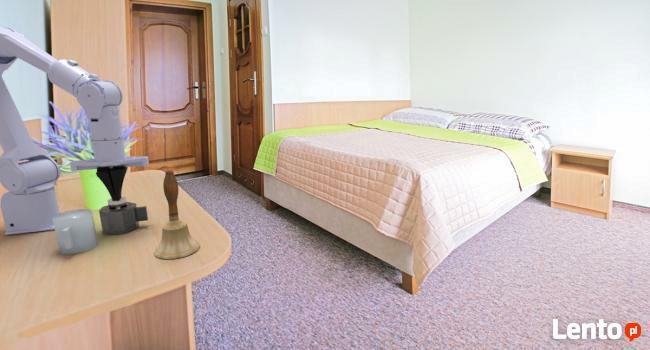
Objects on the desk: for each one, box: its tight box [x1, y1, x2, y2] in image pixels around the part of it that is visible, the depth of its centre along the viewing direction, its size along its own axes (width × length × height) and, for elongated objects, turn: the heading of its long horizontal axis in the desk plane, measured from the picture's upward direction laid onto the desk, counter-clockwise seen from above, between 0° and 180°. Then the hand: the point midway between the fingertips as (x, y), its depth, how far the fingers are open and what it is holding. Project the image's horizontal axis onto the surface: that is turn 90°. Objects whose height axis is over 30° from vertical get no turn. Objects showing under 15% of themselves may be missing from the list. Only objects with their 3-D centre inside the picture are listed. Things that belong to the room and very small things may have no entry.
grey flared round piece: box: [107, 196, 128, 209], centre depth 78 cm, size 4×4×6 cm
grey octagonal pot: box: [98, 201, 149, 236], centre depth 79 cm, size 9×7×5 cm
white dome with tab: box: [52, 208, 99, 256], centre depth 68 cm, size 6×8×7 cm
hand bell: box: [154, 169, 201, 260], centre depth 67 cm, size 8×8×16 cm
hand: (117, 199), depth 78 cm, fingers closed, pressing on grey flared round piece
